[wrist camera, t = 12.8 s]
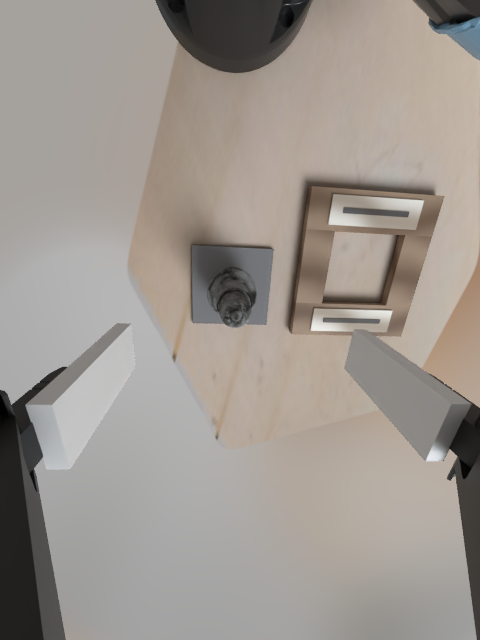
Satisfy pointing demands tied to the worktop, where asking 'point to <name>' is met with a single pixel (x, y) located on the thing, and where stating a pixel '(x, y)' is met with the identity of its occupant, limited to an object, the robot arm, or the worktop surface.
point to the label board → (361, 217)
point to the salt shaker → (233, 296)
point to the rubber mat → (218, 257)
